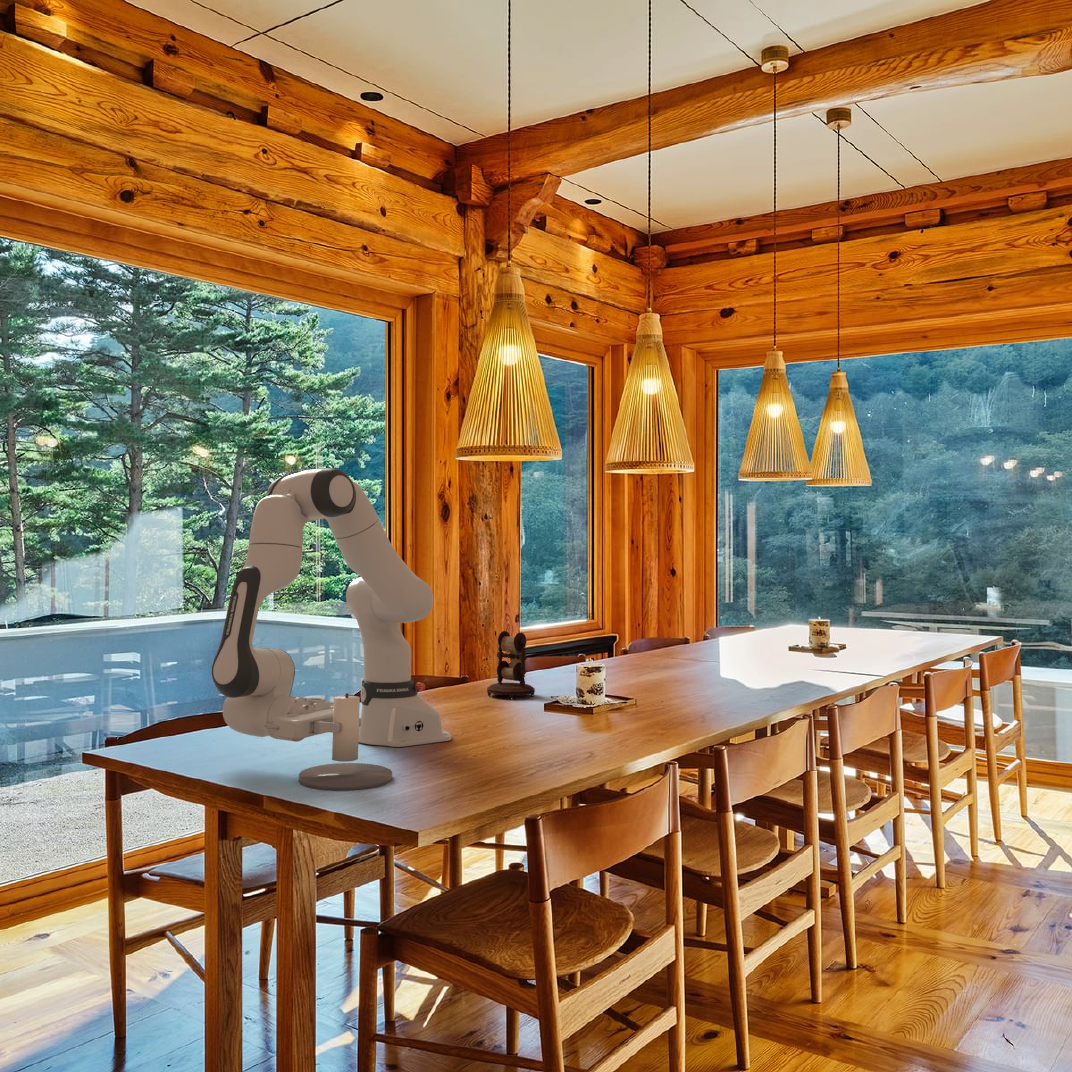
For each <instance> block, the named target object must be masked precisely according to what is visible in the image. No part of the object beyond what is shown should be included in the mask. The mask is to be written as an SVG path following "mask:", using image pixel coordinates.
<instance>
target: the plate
mask: <svg viewBox="0 0 1072 1072" xmlns="http://www.w3.org/2000/svg"><path fill="white" fill-rule="evenodd" d="M391 781H393V770H391V769H390V768H388V767H385V766H384V765H378V764H373V763H362V762H361V763H360V762H357V763H356V762H343V763H342V762H339V763H328V764H321V765H316V766H311V767H307V768H305V769H303V770H301V771H300V772H299V774H298V783H299V784H300V785H302V786H304V787H306V788H311V789H314V790H323V791H344V792H345V791H346V792H347V791H358V790H359V791H360V790H361V791H362V790H367V789H369V790H370V789H373V788H378V787H382V786H384V785H387V784H389V783H391Z"/></svg>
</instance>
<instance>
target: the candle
mask: <svg viewBox="0 0 1072 1072" xmlns="http://www.w3.org/2000/svg"><path fill="white" fill-rule="evenodd" d="M344 694H345V695H337V696H334V697H333V703H334V712H333V722H338V723H341V724H342V731H341V732H338V733H332V748H331V749H332V750H331V751H332V752H331V760H332V761H335V762H341V763H342V762H343V763H348V762H353V761H358V760H359V743H360V742H359V718H360V707H361V706H360V705H361V696H356V695H349V692H346V693H344Z"/></svg>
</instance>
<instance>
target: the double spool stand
mask: <svg viewBox="0 0 1072 1072" xmlns="http://www.w3.org/2000/svg"><path fill="white" fill-rule="evenodd" d="M497 644H498V647H497V650H498V651H497V653H496V657H497V659H498V660H497V661H498V662H497V667H496V674H497V683H492V684H490V685H489V686H487V687H486V692H487V696H488V697H490V696H491V694H493V695H500V696H509V698H513V699H514V697H515V696H526V695H530V696H531V695H534V694H535V692H536V688H535V687H534V686H532V685H530V684H528V683H526V679H525V678H526V674H527V672H526V660H527V659H528V657H527V654H526V645H527V637H526V635H525V634H524V633H523V632H522V631H521V632H518V633H516V634H515V636H511V634H510V632H509V631H507V630H503V631H501V632H500V633H499V634H498V637H497ZM504 652H505V653H504ZM506 652H507V653H506ZM508 652H509V653H508ZM503 658H504V659H506V658H508V659H509V661H510V663H509V662H508V661H507V660H503ZM503 680H507V681H515V682H503ZM534 696H535V695H534Z"/></svg>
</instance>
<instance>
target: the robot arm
mask: <svg viewBox="0 0 1072 1072" xmlns="http://www.w3.org/2000/svg"><path fill="white" fill-rule="evenodd" d="M322 519H324V520H326V522H327V523H328V527H329V529H330V531H331V534H332V536H333V538H334V540H335V542H336V543H337V547H338V549H339V551H340V553H341V554H342V557H343V558H344V559H343V560H344V561H345V563H346V565H347V567H349V569H351V571H353V572H354V573H355V574H357V575H358V576H359V577H356V578H355V579H352V581H351V582H350V583H349V585H348V586H347V589H346V592H345V599H346V600H345V601H346V604H347V607H348V609H349V610H350V611H351V613H352V614H353V616H354V617H355V619H356V621H357V624H358V627H359V631H360V635H361V641H362V648H363V679H361V687H360V704H362V705H361V713H360V717H359V742H358V743H361V744H366V745H373V746H387V747H392V748H393V747H394V748H400V747H409V746H417V745H425V744H426V745H427V744H432V743H433V744H434V743H440V742H448V741H451V740H452V735H451V733H450V732H449V731H447V730H444V729H443V724H442V718H441V714H440V713H439V711H438V710H437V709H435V708H434V707H433V706H432V705H430V704H429V702H427V701H426V700H424V699H423V698H421V696H419V695H418V694H419V692H424V691H425V690H426V685H425V684H424V682H421V681H420V682H419V681H418V682H416V681H414V680H413V679H412V675H411V674H412V648H411V645H410V643H409V641H407V639H406V638H405V637H404V634H403V632H402V629H401V626H400V623H401V624H409V623H415V622H418V621H421V620H423V619H425V618H427V616H428V615H429V614H431V611H432V609H433V605H434V594H433V591H432V588H431V586H430V585H429V583H427V582H426V581H425V580H423V579H421V578H420V577H419V576H417V575H416V574H415V573H414V571H412V570H411V568H410V567H409V566H408V565H407V564H406V562H405V561H404V560H403V559H402V558H401V557H400V555H399V554H398V552H397V551H396V550H395V548H394V547H393V545H392V543H391V542H390V539H389V537H388V536H387V533H386V531H385V529H384V526H383V524H382V523H381V520H380V518H379V516H378V514H377V512H376V509H375V508H374V505H373V503H372V502H371V501H370V499H369V497H368V496H367V494H366V493H365V491H364V490H363V489H362V487H361V486H360V484H358V483H357V482H356V481H353V480H352V479H351V477H350V476H349V475H348V473H346V472H345V471H343V470H340V469H337V468H331V467H326V468H322V469H321V468H320V469H319V468H318V469H308V470H306V469H305V470H302V471H300V472H296V473H293V474H285V475H282V476H280V477H277V479H274V480H273V481H272V482H271V483H270V485H269V486H268V487H267V491H266V493H265V497H263V498H261V499H260V500H259V501H258V503H257V504H256V506H255V510H254V513H253V517H252V521H251V525H250V531H249V539H248V540H249V541H248V549H247V555H246V560H245V562H244V565H243V567H242V569H241V570H240V571H238V573H237V574H236V576H235V579H234V581H233V585H232V588H231V593H230V598H229V601H228V602H229V603H228V606H227V612H226V615H225V620H224V625H223V631H222V633H221V634H222V635H221V639H220V643H219V646H218V649H217V651H216V654H215V656H214V659H213V662H212V665H211V677H212V680H213V683H214V686H215V688H216V689H217V691H219V693H220V694H222V695H223V696H224V697H226V698H225V700H224V702H223V704H222V705H223V706H222V717H223V720H224V722H225V724H226V725H227V726H228V728H230V729H231V730H233V731H235V732H237V733H240V734H244V735H247V736H250V737H251V736H253V737H258V738H264V737H265V738H266V737H270V738H273V739H275V740H280V741H281V740H282V741H288V742H289V741H290V742H294V743H295V742H300V741H303V740H304V739H305V738H309V737H314V736H318V735H322V734H325V733H326V734H327V733H332V734H333V733H338V732H341V731H342V724H341V723H338V722H333V712H334V701H326V699H325V698H323V697H321V698H320V697H314V698H313V697H312V698H310V697H309V698H308V697H303V696H302V697H301V696H293V695H292V696H291V694H292V690H293V686H294V682H295V681H294V680H295V676H296V667H295V663H294V660H293V659H292V656H291V655H290V654H289V653H288V652H287V651H285V650H283V649H279V648H278V649H277V648H266V647H265V648H262V647H261V648H259V647H254V645H253V642H254V641H253V640H254V635H255V630H256V624H257V621H258V615H259V610H260V607H261V604H262V603H263V601H264V600H265V599H266V598H267V597H268V596H269V595H271V594H273V593H275V592H279V591H280V590H282V589H284V588H287V587H288V586H290V585H291V584H292V583H293V582H294V581H295V580H296V579H297V578H298V576H299V574H300V571H301V568H302V563H303V546H304V527H305V526H306V523H307V522H316V521H319V520H322ZM418 691H419V692H418Z"/></svg>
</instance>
